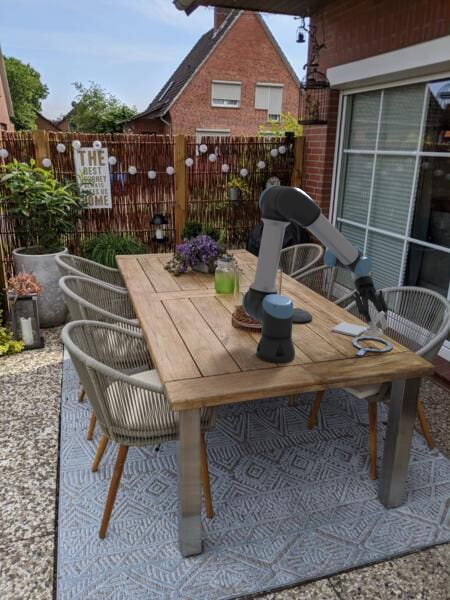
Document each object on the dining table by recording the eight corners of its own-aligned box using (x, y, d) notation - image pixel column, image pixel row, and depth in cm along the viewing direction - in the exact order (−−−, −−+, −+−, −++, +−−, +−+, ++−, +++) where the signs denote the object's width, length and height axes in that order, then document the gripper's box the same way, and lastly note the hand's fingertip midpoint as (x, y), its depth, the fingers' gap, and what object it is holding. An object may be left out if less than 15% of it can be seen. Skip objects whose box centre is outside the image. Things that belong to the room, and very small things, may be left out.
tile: (356, 337, 195) (357, 334, 195) (331, 330, 202) (331, 328, 202) (366, 329, 205) (367, 327, 204) (342, 323, 212) (342, 321, 211)
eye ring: (378, 361, 171) (378, 359, 171) (339, 351, 180) (339, 349, 180) (397, 344, 188) (397, 342, 188) (360, 335, 198) (360, 333, 197)
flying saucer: (287, 312, 228) (287, 302, 226) (315, 317, 222) (316, 306, 220) (277, 321, 215) (277, 310, 213) (307, 326, 209) (308, 315, 207)
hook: (398, 324, 180) (386, 317, 177) (378, 345, 184) (366, 338, 182) (390, 314, 186) (379, 307, 184) (371, 334, 191) (359, 328, 188)
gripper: (376, 283, 197) (393, 330, 187) (340, 284, 192) (355, 333, 182) (385, 274, 191) (403, 323, 180) (347, 275, 186) (364, 325, 175)
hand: (379, 328), depth 181 cm, fingers closed on hook, 5 cm apart
